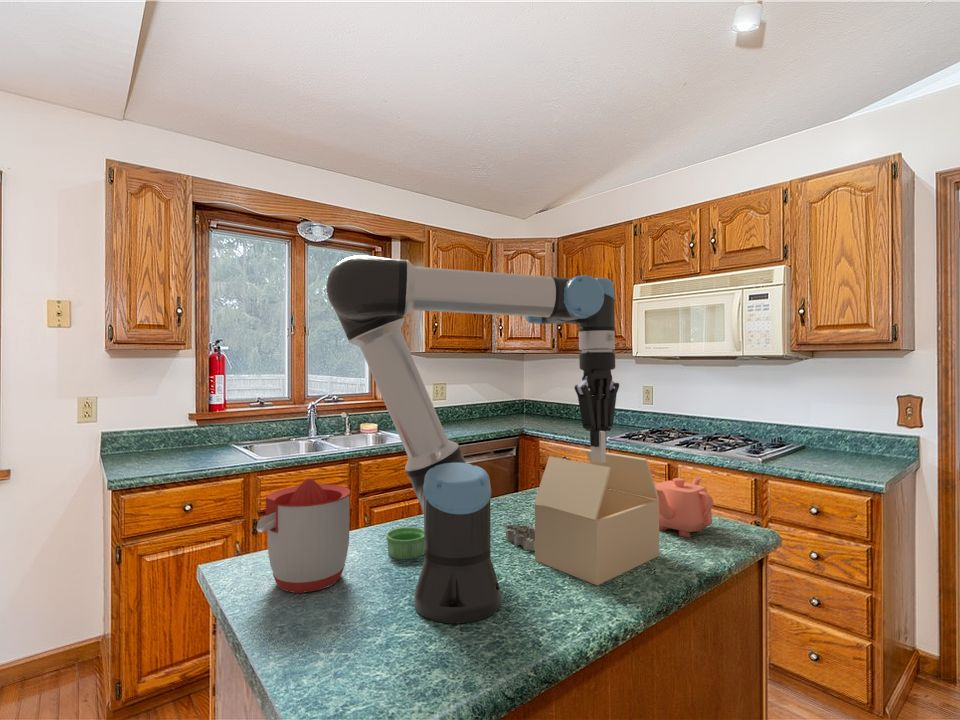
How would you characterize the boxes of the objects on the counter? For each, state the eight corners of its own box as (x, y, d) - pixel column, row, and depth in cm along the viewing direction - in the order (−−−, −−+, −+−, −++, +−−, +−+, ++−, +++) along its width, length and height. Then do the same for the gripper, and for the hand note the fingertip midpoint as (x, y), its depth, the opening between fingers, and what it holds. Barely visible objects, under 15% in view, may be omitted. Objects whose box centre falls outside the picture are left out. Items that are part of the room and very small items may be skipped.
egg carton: (553, 547, 117) (553, 529, 117) (526, 554, 114) (526, 535, 114) (526, 533, 127) (526, 517, 127) (501, 539, 123) (501, 522, 123)
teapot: (654, 539, 122) (654, 485, 122) (642, 517, 138) (642, 470, 138) (721, 542, 120) (721, 487, 120) (700, 520, 136) (700, 472, 136)
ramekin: (424, 560, 110) (424, 540, 110) (382, 561, 109) (382, 540, 109) (428, 545, 118) (428, 526, 118) (389, 545, 118) (389, 526, 118)
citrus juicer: (245, 581, 99) (245, 478, 99) (331, 558, 111) (330, 466, 111) (272, 611, 87) (271, 494, 87) (365, 582, 99) (364, 478, 99)
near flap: (596, 520, 97) (594, 519, 97) (535, 503, 109) (534, 502, 109) (611, 468, 100) (609, 467, 100) (550, 457, 112) (549, 456, 112)
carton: (597, 585, 97) (596, 521, 97) (535, 560, 109) (534, 504, 109) (659, 556, 111) (658, 500, 111) (598, 536, 123) (597, 486, 123)
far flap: (645, 460, 108) (646, 458, 108) (585, 450, 120) (586, 449, 120) (657, 499, 111) (659, 497, 112) (598, 486, 123) (599, 484, 123)
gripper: (592, 351, 103) (594, 468, 103) (629, 351, 112) (631, 459, 112) (563, 351, 109) (565, 463, 109) (600, 351, 117) (602, 454, 117)
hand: (598, 461), depth 110 cm, fingers closed
